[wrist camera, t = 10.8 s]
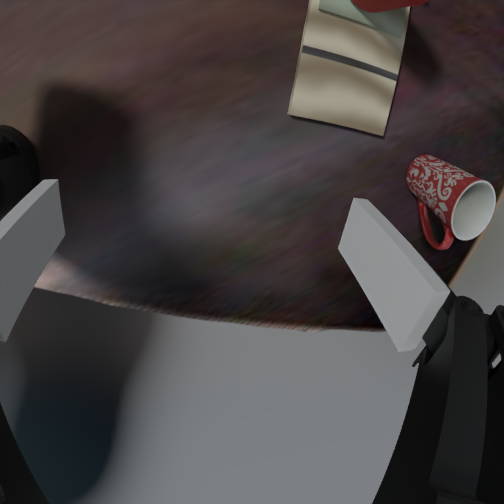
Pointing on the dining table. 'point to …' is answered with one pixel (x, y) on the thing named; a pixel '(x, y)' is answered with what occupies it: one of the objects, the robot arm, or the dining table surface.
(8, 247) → the robot arm
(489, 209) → the mug
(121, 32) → the dining table surface
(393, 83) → the beige green bent panel
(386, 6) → the beer can
